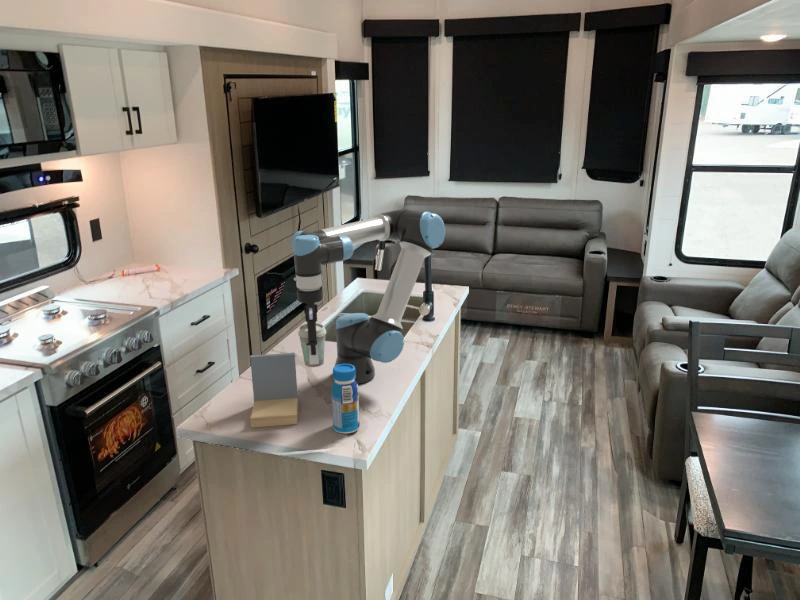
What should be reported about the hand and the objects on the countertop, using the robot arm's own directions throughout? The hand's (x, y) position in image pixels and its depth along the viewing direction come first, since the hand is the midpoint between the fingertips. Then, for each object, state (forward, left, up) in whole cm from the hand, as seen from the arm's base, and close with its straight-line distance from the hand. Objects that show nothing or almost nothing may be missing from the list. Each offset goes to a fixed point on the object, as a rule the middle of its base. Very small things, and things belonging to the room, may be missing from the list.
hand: (314, 358), depth 182 cm
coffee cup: (0, 0, -2) cm, 2 cm away
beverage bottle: (-9, +9, -20) cm, 24 cm away
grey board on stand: (+13, -9, -20) cm, 26 cm away
